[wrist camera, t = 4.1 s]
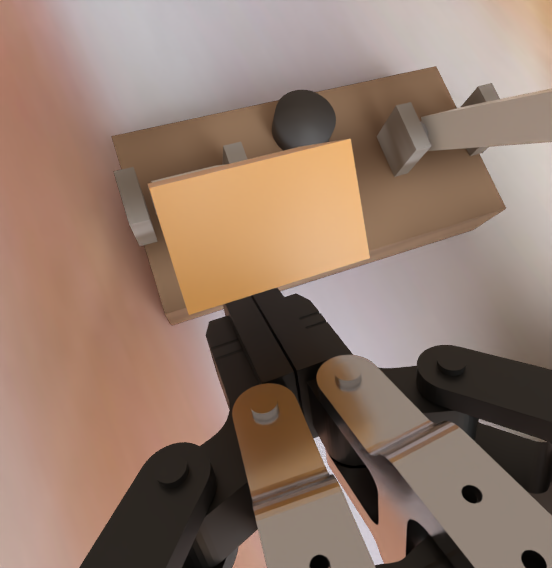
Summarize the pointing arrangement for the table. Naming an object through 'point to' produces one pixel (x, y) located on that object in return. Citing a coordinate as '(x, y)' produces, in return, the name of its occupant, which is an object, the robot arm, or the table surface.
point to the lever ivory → (492, 123)
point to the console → (314, 130)
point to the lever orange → (261, 222)
